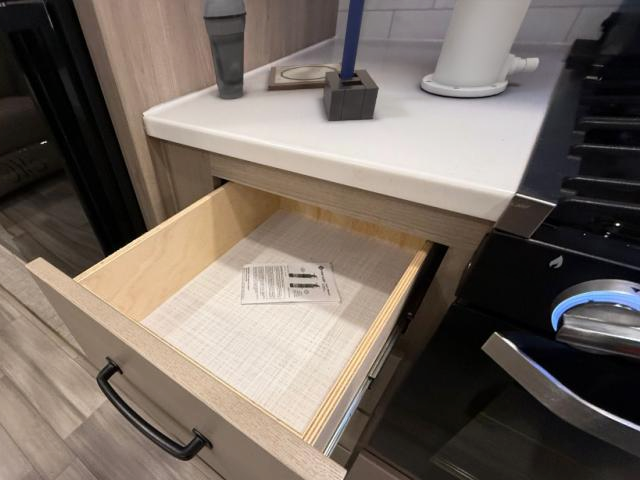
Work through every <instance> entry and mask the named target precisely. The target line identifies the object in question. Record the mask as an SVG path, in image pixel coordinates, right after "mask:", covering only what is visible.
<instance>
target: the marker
mask: <svg viewBox="0 0 640 480" xmlns="http://www.w3.org/2000/svg"><path fill="white" fill-rule="evenodd" d="M365 2H366V0H349V3H348V12H347V20H346V26H345V27H346V28H345V36H344V42H343V51H342V59H341V62H342V65H341V73H340V78H352V77H353V75H354V71H355V67H356V61H357V55H358V54H357V53H358V48H359V43H360V42H359V41H360V35H361V28H362V21H363V16H364V9H365Z"/></svg>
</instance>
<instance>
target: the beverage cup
mask: <svg viewBox="0 0 640 480" xmlns="http://www.w3.org/2000/svg"><path fill="white" fill-rule="evenodd" d="M246 17H247V9H246V5H245V0H204V3H203V17H202V19H203V20H204V26H205V30H206V34H207V36H208V40H209V41H208V42H209V46H210V47H209V48H210V52H211V58H212V63H213V70H214V74H215V80H216V86H217V89H218V95H219V98H220V99H222V100H233V99H239V98H241V97H242V96H244V83H245V82H244V80H245V78H244V75H245V73H244V71H245V69H244V68H245V31H246V23H247V18H246Z"/></svg>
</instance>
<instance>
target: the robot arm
mask: <svg viewBox="0 0 640 480" xmlns="http://www.w3.org/2000/svg"><path fill="white" fill-rule="evenodd" d="M531 3H532V0H456V1H455V4H454V7H453V10H452V14H451V17H450V21H449V24H448V26H447V30H446V33H445V37H444V40H443V43H442V48H441V49H440V53H439V56H438V59H437V63H436V66H435V70H434V72H433V73H430V74H427V75H425V76H424V77H422V80H421V83H420V87H421V88H422V89H423V90H424V91H425V92H428V93H431V94H435V95H439V96H444V97H453V98H481V97H489V96H494V95H498V94H501V93H503V91H505V90H506V88H507V86H508V84H509V81H508V78H507V77H511V76H512V75H513V74H515V73H516V74H517V73H518V74H526V73H527V74H530V73H534V72H535V71H536V69H537V68H538V66H539V63H540V58H539V57H525V58H522V57H521V56H516V55H515V54H513V53H511V50H512V48H513V45H514V42H515V41H516V38H517V35H518V34H519V31H520V28H521V26H522V24H523V21H524V19H525V17H526V14H527V12H528V9H529V7H530V6H531Z"/></svg>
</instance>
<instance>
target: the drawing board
mask: <svg viewBox="0 0 640 480" xmlns="http://www.w3.org/2000/svg"><path fill="white" fill-rule="evenodd" d="M341 65H342V61H341V62H327V63H313V64H312V63H311V64H295V65H281V66H271V67H270V71H269V78H268V85H267V90H268V91H285V90H304V89H319V88H324V84H325V74H326V72H333V71H341Z"/></svg>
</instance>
